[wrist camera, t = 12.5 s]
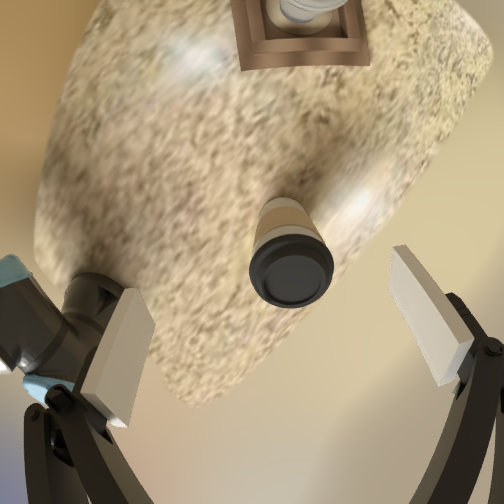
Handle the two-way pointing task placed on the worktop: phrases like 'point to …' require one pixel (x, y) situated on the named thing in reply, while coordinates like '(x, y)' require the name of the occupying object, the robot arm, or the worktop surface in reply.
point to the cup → (307, 9)
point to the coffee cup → (289, 256)
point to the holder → (298, 36)
